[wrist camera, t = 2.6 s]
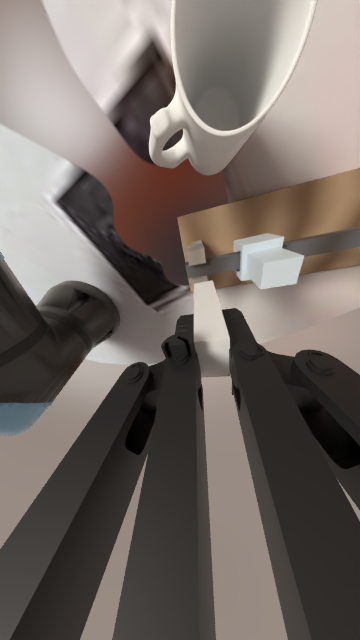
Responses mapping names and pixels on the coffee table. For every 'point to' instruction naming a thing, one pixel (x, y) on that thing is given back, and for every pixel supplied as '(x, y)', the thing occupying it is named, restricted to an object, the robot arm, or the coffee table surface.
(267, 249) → the white stepped block
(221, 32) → the mug
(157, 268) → the coffee table surface
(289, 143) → the coffee table surface
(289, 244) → the din rail terminal board
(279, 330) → the coffee table surface
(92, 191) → the coffee table surface
